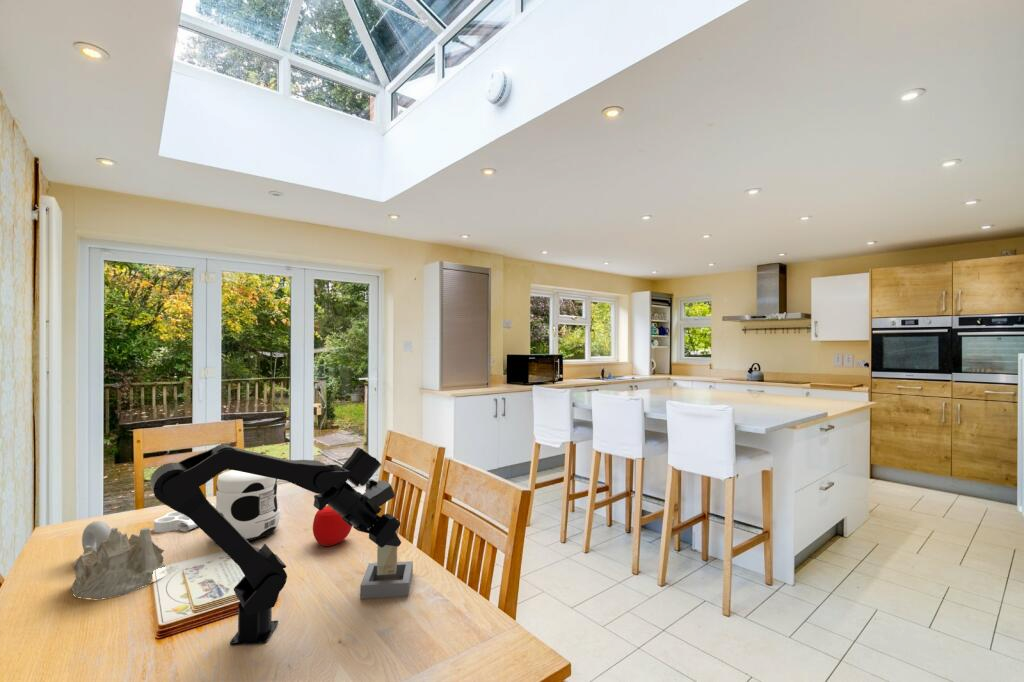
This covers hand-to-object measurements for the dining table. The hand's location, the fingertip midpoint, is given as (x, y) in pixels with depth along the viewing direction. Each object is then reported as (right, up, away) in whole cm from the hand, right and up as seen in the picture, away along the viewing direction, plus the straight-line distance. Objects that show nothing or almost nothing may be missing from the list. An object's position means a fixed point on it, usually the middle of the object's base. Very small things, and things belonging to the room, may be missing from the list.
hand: (392, 539), depth 110 cm
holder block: (-1, -10, -1) cm, 10 cm away
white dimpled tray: (-73, -11, +36) cm, 83 cm away
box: (-1, -7, -1) cm, 7 cm away
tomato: (-23, -10, +23) cm, 34 cm away
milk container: (-50, -10, +27) cm, 58 cm away
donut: (-79, -10, +10) cm, 80 cm away
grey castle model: (-64, -10, 0) cm, 65 cm away
